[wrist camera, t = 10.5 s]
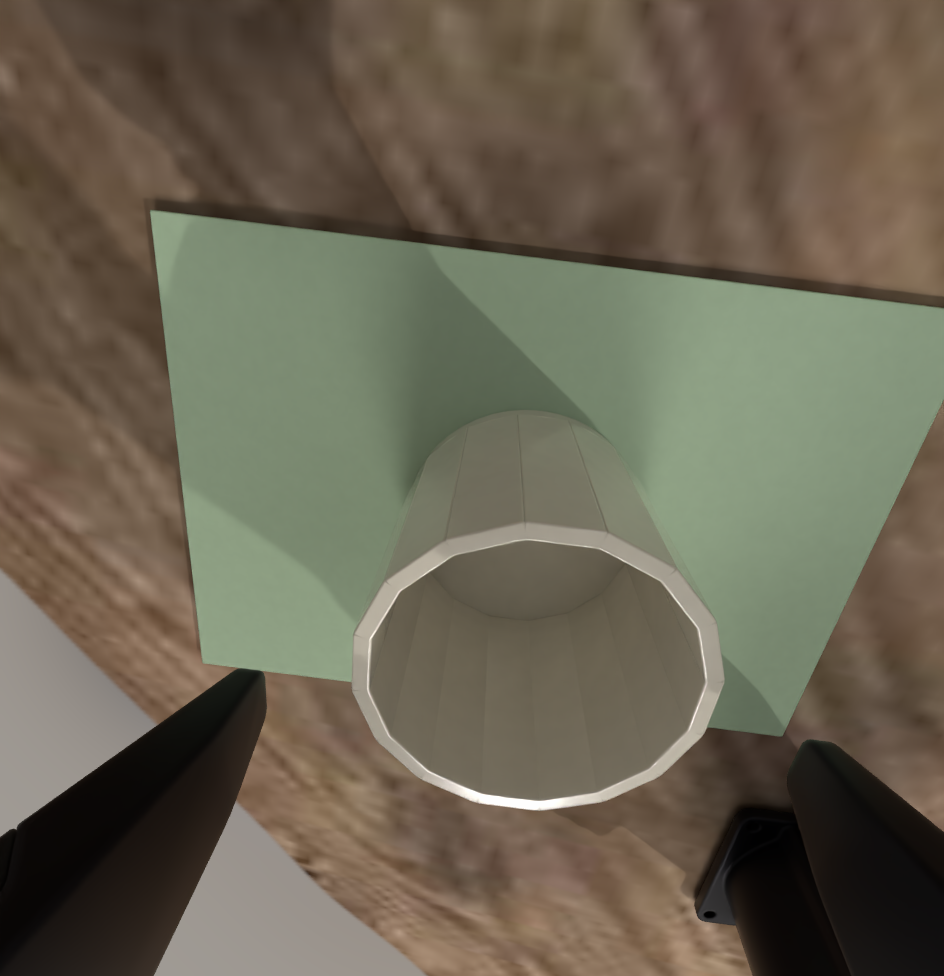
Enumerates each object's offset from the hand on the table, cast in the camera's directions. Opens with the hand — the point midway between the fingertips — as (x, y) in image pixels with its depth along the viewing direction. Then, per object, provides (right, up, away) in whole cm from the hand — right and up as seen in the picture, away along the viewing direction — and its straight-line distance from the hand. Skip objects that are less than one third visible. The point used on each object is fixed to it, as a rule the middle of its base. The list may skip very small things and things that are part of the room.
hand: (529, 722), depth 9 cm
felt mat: (0, +3, +7) cm, 8 cm away
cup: (0, +3, +7) cm, 8 cm away
